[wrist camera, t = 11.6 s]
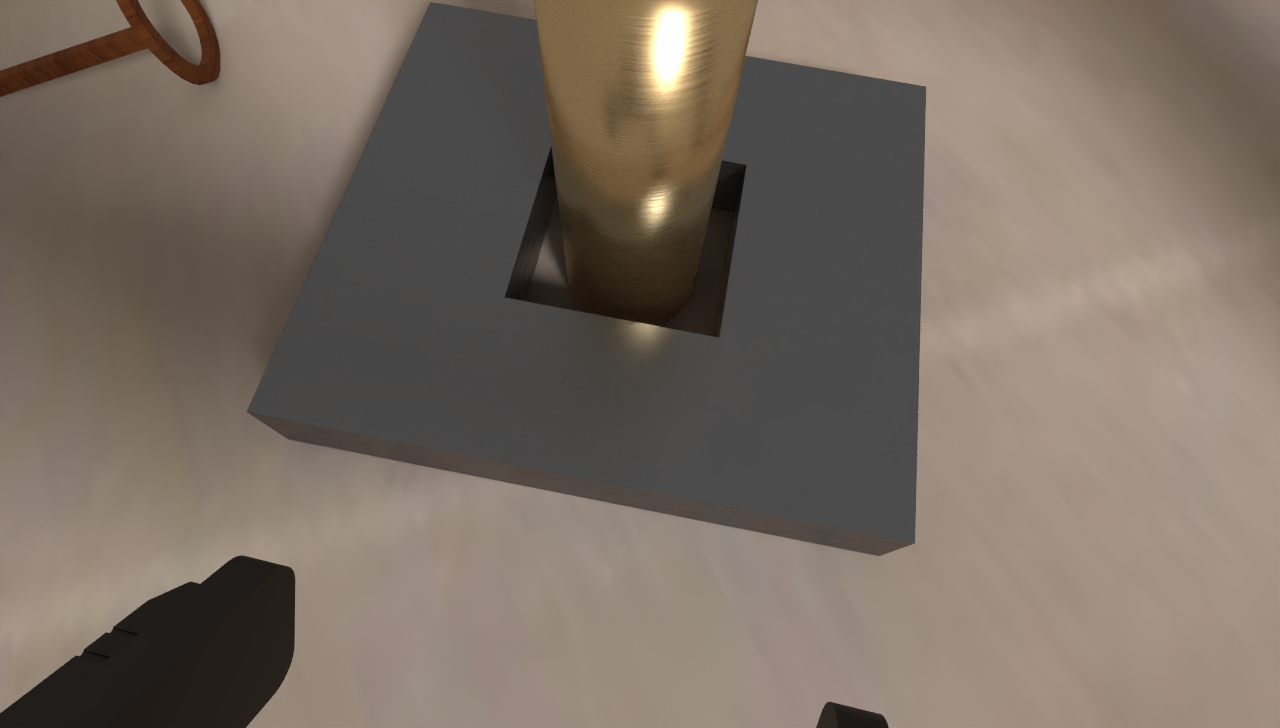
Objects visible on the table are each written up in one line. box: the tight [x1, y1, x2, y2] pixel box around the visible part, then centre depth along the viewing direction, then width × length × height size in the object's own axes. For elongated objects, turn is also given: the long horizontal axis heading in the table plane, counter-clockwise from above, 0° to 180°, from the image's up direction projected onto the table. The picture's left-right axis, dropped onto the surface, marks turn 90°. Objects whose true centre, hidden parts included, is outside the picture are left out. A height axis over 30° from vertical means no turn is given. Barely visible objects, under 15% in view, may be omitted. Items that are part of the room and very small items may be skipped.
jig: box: [247, 2, 926, 556], centre depth 22 cm, size 18×16×2 cm
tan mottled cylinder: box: [534, 0, 758, 326], centre depth 18 cm, size 4×4×12 cm
